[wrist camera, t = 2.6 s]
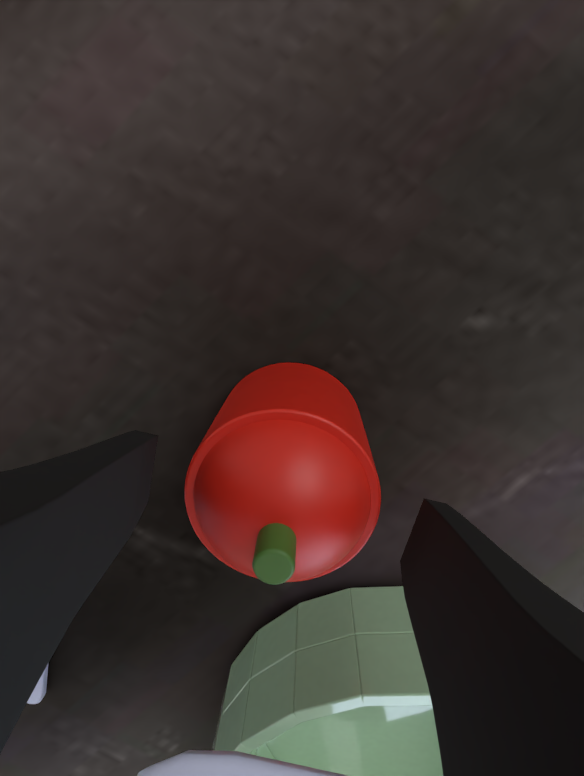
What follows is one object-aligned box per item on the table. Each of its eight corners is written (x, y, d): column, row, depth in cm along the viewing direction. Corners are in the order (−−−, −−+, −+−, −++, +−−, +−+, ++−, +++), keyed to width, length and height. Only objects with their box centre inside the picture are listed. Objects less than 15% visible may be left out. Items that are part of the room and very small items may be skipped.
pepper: (208, 475, 17) (134, 636, 10) (234, 346, 15) (168, 426, 8) (340, 506, 17) (359, 686, 10) (379, 381, 15) (435, 490, 8)
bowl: (203, 771, 22) (172, 918, 17) (261, 541, 17) (242, 651, 13) (472, 829, 22) (516, 988, 17) (594, 618, 18) (696, 752, 13)
